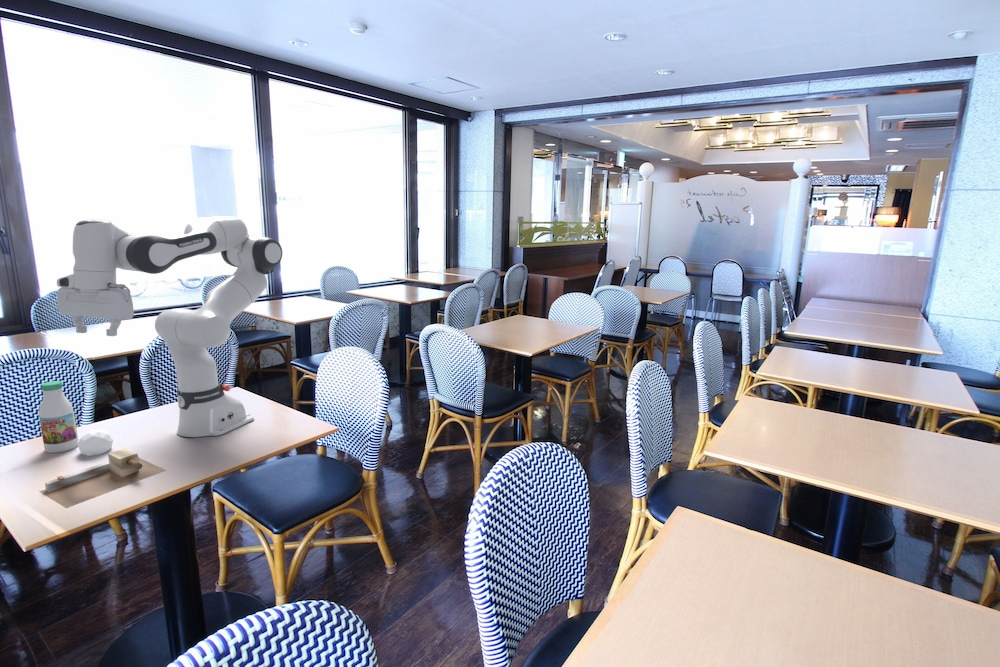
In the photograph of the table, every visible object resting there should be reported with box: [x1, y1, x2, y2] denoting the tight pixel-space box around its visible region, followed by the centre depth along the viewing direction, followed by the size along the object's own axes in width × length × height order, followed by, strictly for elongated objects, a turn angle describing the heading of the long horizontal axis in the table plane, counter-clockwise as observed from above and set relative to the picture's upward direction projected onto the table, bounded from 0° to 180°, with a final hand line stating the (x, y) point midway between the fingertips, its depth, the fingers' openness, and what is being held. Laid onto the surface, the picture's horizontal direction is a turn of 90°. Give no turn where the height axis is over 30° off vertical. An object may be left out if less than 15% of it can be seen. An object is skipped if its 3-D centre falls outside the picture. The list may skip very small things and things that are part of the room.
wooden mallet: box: [107, 447, 142, 477], centre depth 136 cm, size 4×11×5 cm, turn 60°
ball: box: [77, 428, 114, 457], centre depth 148 cm, size 8×8×8 cm
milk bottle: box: [38, 380, 79, 454], centre depth 151 cm, size 8×8×20 cm
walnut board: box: [39, 453, 167, 509], centre depth 132 cm, size 22×14×4 cm, turn 150°
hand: (96, 334), depth 138 cm, fingers open, 8 cm apart
